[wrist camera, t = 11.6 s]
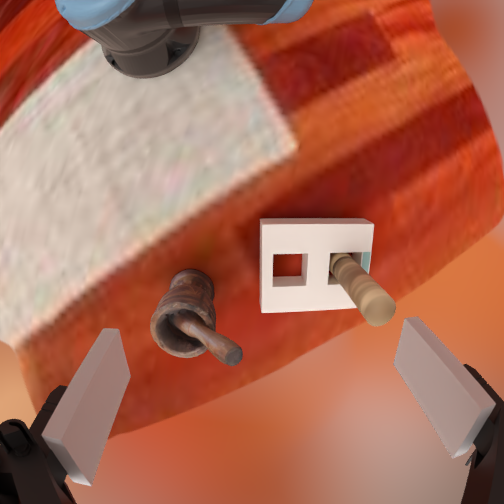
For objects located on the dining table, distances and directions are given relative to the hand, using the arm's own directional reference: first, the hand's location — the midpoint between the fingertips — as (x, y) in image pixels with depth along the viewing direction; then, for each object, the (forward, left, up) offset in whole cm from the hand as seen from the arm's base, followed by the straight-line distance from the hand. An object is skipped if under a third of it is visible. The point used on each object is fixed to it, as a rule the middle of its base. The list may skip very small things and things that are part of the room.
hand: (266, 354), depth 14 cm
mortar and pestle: (+13, -7, -37) cm, 40 cm away
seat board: (+9, +11, -37) cm, 39 cm away
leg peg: (+9, +15, -37) cm, 41 cm away
